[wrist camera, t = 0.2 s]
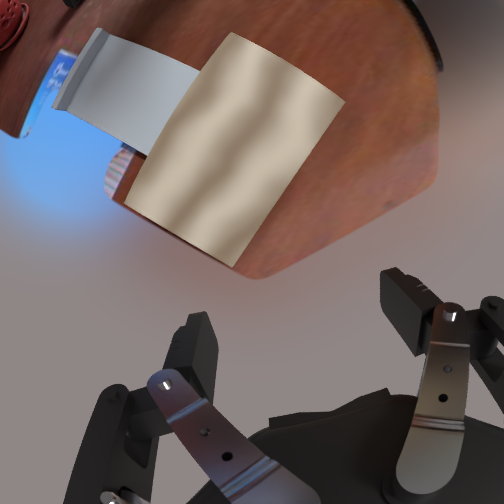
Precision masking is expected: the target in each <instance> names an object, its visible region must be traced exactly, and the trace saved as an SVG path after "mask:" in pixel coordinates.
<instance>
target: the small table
mask: <svg viewBox="0 0 504 504" xmlns="http://www.w3.org/2000/svg"><path fill="white" fill-rule="evenodd" d="M344 103H345V101H344V100H342V99H341V98H340V97H338V96H337V95H336V94H334V93H333V92H331V91H330V90H329V89H327V88H326V87H325V86H323V85H322V84H320V83H319V82H317V81H316V80H314V79H313V78H311V77H310V76H308V75H307V74H305V73H304V72H302V71H301V70H299V69H298V68H296V67H294V66H293V65H291V64H290V63H288V62H286V61H285V60H283V59H281V58H280V57H278V56H276V55H274V54H273V53H271V52H269V51H267V50H266V49H264V48H262V47H260V46H258V45H256V44H254V43H253V42H251V41H249V40H247V39H245V38H243V37H241V36H239V35H237V34H234V33H232V32H231V33H230V34H229V35H228V36H227V37H226V39H225V40H224V41H223V42H222V44H221V45H220V46H219V47H218V49H217V50H216V51H215V53H214V54H213V55H212V56H211V58H210V59H209V60H208V62H207V63H206V64H205V66H204V67H203V69H202V70H201V71H200V73H199V74H198V75H197V77H196V78H195V80H194V81H193V83H192V84H191V85H190V87H189V88H188V90H187V91H186V93H185V94H184V96H183V97H182V99H181V100H180V102H179V104H178V105H177V107H176V108H175V110H174V111H173V113H172V115H171V116H170V118H169V120H168V121H167V123H166V124H165V126H164V128H163V130H162V131H161V133H160V135H159V136H158V138H157V140H156V142H155V143H154V145H153V147H152V149H151V151H150V152H149V154H148V156H147V158H146V160H145V162H144V164H143V166H142V168H141V169H140V171H139V173H138V175H137V177H136V179H135V181H134V183H133V185H132V187H131V190H130V192H129V194H128V196H127V198H126V200H125V202H124V204H126V205H127V206H129V207H131V208H132V209H134V210H136V211H137V212H139V213H141V214H142V215H144V216H146V217H147V218H149V219H151V220H152V221H154V222H155V223H157V224H159V225H160V226H162V227H164V228H165V229H167V230H169V231H171V232H172V233H174V234H176V235H177V236H179V237H181V238H182V239H184V240H186V241H187V242H189V243H191V244H192V245H194V246H196V247H198V248H199V249H201V250H203V251H204V252H206V253H208V254H210V255H211V256H213V257H215V258H216V259H218V260H220V261H222V262H223V263H225V264H227V265H229V266H230V267H233V266H234V264H235V263H236V261H237V260H238V258H239V257H240V255H241V254H242V252H243V251H244V249H245V248H246V246H247V245H248V243H249V242H250V240H251V239H252V237H253V236H254V235H255V233H256V232H257V230H258V229H259V227H260V226H261V224H262V223H263V221H264V220H265V218H266V217H267V215H268V214H269V212H270V211H271V209H272V208H273V206H274V205H275V203H276V202H277V201H278V199H279V198H280V196H281V195H282V193H283V192H284V190H285V189H286V187H287V186H288V184H289V183H290V181H291V180H292V178H293V177H294V175H295V174H296V173H297V171H298V170H299V168H300V167H301V165H302V164H303V162H304V161H305V159H306V158H307V156H308V155H309V154H310V152H311V151H312V149H313V148H314V146H315V145H316V143H317V142H318V140H319V139H320V138H321V136H322V135H323V133H324V132H325V130H326V129H327V127H328V126H329V124H330V123H331V122H332V120H333V119H334V117H335V116H336V114H337V113H338V111H339V110H340V108H341V107H342V106H343V104H344Z"/></svg>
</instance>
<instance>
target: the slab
mask: <svg viewBox="0 0 504 504" xmlns="http://www.w3.org/2000/svg"><path fill="white" fill-rule="evenodd" d="M199 73H200V71H198V70H196V69H194V68H192V67H190V66H188V65H186V64H183V63H181V62H179V61H177V60H175V59H172V58H170V57H168V56H165V55H163V54H161V53H158V52H156V51H154V50H151V49H149V48H146V47H143V46H141V45H138V44H136V43H133V42H130V41H127V40H125V39H122V38H119V37H116V36H113V35H110V34H109V33H107V32H106V31H105V30H103V29H101V28H97V29H96V30H95V32H94V33H93V35H92V36H91V38H90V39H89V40H88V42H87V44H86V45H85V47H84V48H83V50H82V51H81V53H80V55H79V56H78V58H77V60H76V61H75V63H74V65H73V66H72V68H71V70H70V72H69V73H68V75H67V77H66V79H65V81H64V83H63V85H62V87H61V89H60V90H59V92H58V95H57V97H56V99H55V101H54V103H53V105H52V108H54V109H55V110H62V111H67V112H69V113H71V114H73V115H74V116H76V117H78V118H80V119H82V120H84V121H86V122H87V123H89V124H91V125H93V126H95V127H97V128H99V129H100V130H102V131H104V132H106V133H108V134H110V135H111V136H113V137H115V138H117V139H119V140H120V141H122V142H124V143H126V144H127V145H129V146H131V147H133V148H135V149H136V150H138V151H140V152H142V153H143V154H145V155H147V156H148V154H149V152H150V151H151V149H152V147H153V145H154V143H155V142H156V140H157V138H158V136H159V135H160V133H161V131H162V130H163V128H164V126H165V124H166V123H167V121H168V120H169V118H170V116H171V115H172V113H173V111H174V110H175V108H176V107H177V105H178V104H179V102H180V100H181V99H182V97H183V96H184V94H185V93H186V91H187V90H188V88H189V87H190V85H191V84H192V83H193V81H194V80H195V78H196V77H197V75H198V74H199Z"/></svg>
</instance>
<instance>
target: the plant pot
mask: <svg viewBox="0 0 504 504" xmlns="http://www.w3.org/2000/svg"><path fill="white" fill-rule="evenodd" d="M28 17H29V6H28V5H27V4H25V3H21V4H20V2H19V1H18V0H0V51H2V50H4V49H6V48H7V47H9V46H10V45H11V44H12V43H13V42H14V41H15V40H16V39H17V37H18V36H19V35H20V33H21V32H22V30H23V29H24V27H25V25H26V22H27V20H28Z"/></svg>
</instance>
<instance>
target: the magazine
mask: <svg viewBox="0 0 504 504" xmlns="http://www.w3.org/2000/svg"><path fill="white" fill-rule="evenodd" d="M80 1H81V0H63V2H64V3H65V5H66V6H68V7H72V8H73V7H76V6H77V4H78V3H79V2H80Z"/></svg>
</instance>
